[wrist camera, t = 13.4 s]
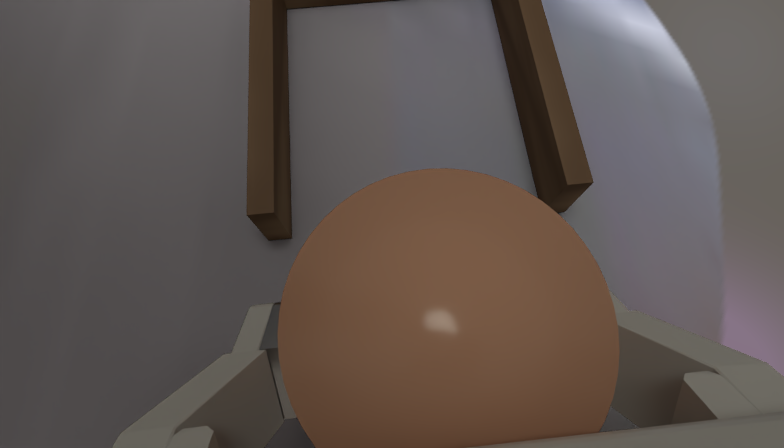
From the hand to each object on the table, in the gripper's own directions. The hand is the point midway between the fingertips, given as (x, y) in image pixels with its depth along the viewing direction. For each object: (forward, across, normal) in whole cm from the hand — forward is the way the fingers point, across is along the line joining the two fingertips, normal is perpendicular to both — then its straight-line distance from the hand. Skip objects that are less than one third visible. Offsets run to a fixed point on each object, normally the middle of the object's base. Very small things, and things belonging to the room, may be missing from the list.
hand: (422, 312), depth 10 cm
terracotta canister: (+4, 0, +5) cm, 6 cm away
